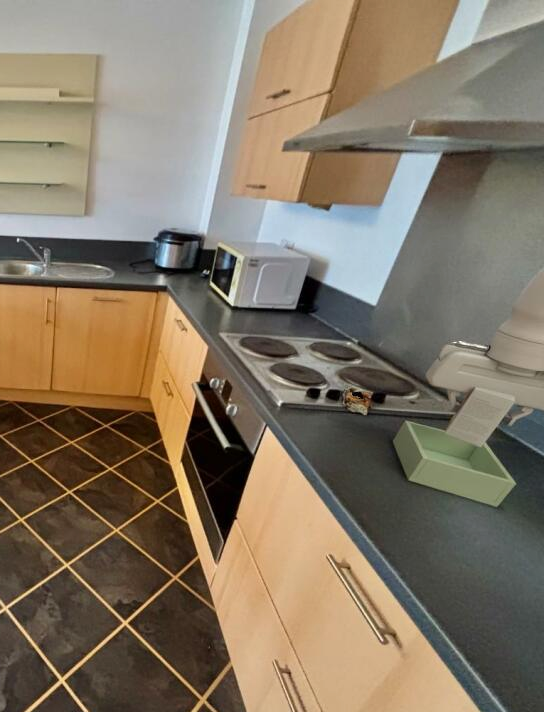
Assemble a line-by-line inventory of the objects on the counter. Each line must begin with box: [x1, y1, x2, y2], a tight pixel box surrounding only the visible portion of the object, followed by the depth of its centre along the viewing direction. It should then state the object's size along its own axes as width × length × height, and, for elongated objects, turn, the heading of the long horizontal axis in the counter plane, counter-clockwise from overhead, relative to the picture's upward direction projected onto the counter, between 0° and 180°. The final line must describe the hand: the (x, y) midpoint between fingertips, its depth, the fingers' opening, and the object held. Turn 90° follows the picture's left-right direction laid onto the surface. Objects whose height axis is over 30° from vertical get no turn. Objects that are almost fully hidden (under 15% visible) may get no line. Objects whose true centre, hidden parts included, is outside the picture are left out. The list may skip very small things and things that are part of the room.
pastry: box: [339, 385, 373, 416], centre depth 109 cm, size 7×12×4 cm, turn 154°
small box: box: [444, 387, 516, 447], centre depth 80 cm, size 8×6×10 cm
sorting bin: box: [392, 420, 517, 508], centre depth 85 cm, size 14×16×6 cm
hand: (476, 416), depth 80 cm, fingers closed on small box, 6 cm apart
